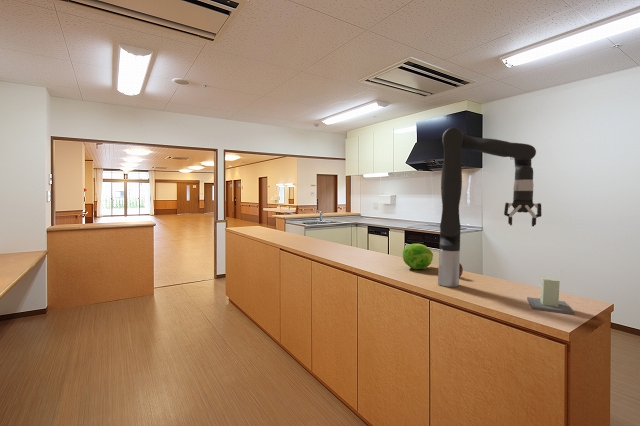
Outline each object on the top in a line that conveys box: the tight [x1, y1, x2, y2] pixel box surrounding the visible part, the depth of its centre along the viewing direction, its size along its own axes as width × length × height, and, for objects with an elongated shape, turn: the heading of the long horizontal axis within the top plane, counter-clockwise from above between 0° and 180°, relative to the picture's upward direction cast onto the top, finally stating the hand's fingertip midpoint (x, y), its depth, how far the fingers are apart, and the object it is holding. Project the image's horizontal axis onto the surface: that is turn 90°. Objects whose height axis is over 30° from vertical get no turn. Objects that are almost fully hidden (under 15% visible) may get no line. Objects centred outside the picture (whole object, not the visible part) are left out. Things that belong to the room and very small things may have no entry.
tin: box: [459, 262, 464, 278], centre depth 177 cm, size 15×3×8 cm, turn 21°
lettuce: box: [402, 243, 434, 270], centre depth 194 cm, size 17×20×15 cm
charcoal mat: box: [526, 296, 575, 315], centre depth 128 cm, size 13×13×1 cm
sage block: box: [539, 276, 560, 307], centre depth 128 cm, size 5×5×10 cm
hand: (521, 225), depth 147 cm, fingers open, 8 cm apart
